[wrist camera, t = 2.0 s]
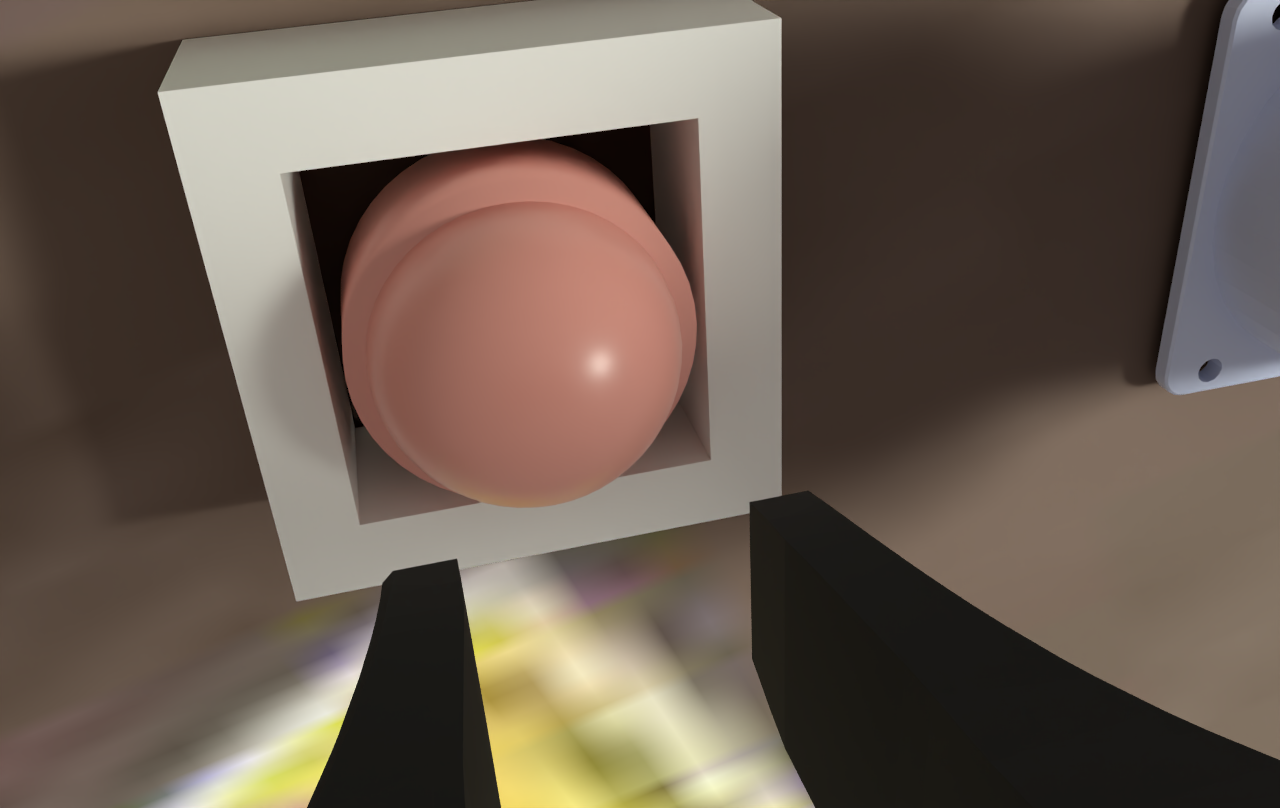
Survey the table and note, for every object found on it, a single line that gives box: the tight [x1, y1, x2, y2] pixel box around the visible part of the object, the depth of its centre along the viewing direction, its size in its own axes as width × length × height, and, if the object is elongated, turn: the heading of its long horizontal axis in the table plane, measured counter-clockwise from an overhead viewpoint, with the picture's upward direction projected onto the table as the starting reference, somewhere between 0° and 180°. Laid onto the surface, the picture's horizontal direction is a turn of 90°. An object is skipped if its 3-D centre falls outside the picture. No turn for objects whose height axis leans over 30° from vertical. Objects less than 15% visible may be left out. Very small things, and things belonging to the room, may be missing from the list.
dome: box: [341, 139, 697, 508], centre depth 16 cm, size 5×5×4 cm
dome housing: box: [158, 0, 782, 602], centre depth 18 cm, size 8×8×3 cm
